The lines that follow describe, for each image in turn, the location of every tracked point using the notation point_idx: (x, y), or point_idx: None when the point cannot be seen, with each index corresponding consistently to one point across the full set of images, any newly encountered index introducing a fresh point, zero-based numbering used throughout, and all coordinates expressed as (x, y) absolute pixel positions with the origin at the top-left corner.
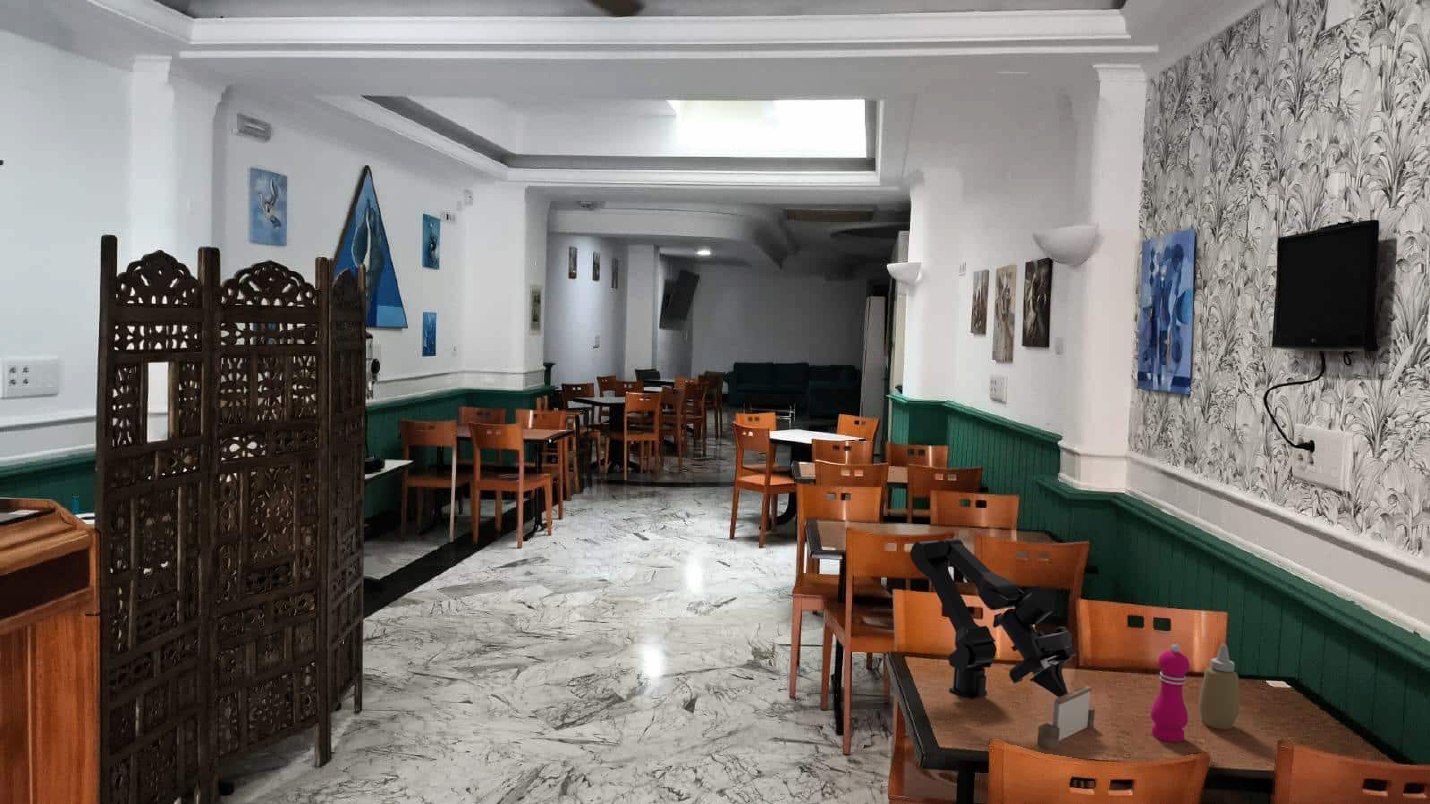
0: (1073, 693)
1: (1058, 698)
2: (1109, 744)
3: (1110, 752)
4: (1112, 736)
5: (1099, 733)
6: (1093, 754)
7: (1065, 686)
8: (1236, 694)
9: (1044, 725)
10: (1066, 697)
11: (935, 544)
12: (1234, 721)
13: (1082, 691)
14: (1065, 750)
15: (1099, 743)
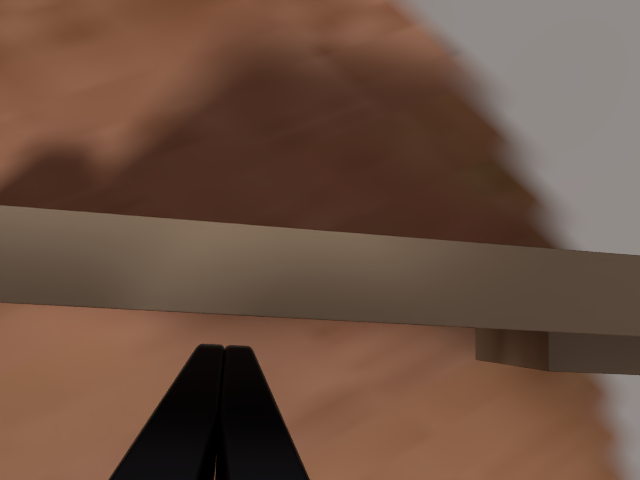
0: (251, 259)
1: (617, 315)
2: (170, 57)
3: (291, 15)
4: (7, 87)
5: (25, 170)
6: (402, 76)
7: (131, 463)
8: None
9: (605, 353)
10: (492, 257)
11: None
12: None
13: (17, 209)
14: (484, 213)
15: (207, 108)
